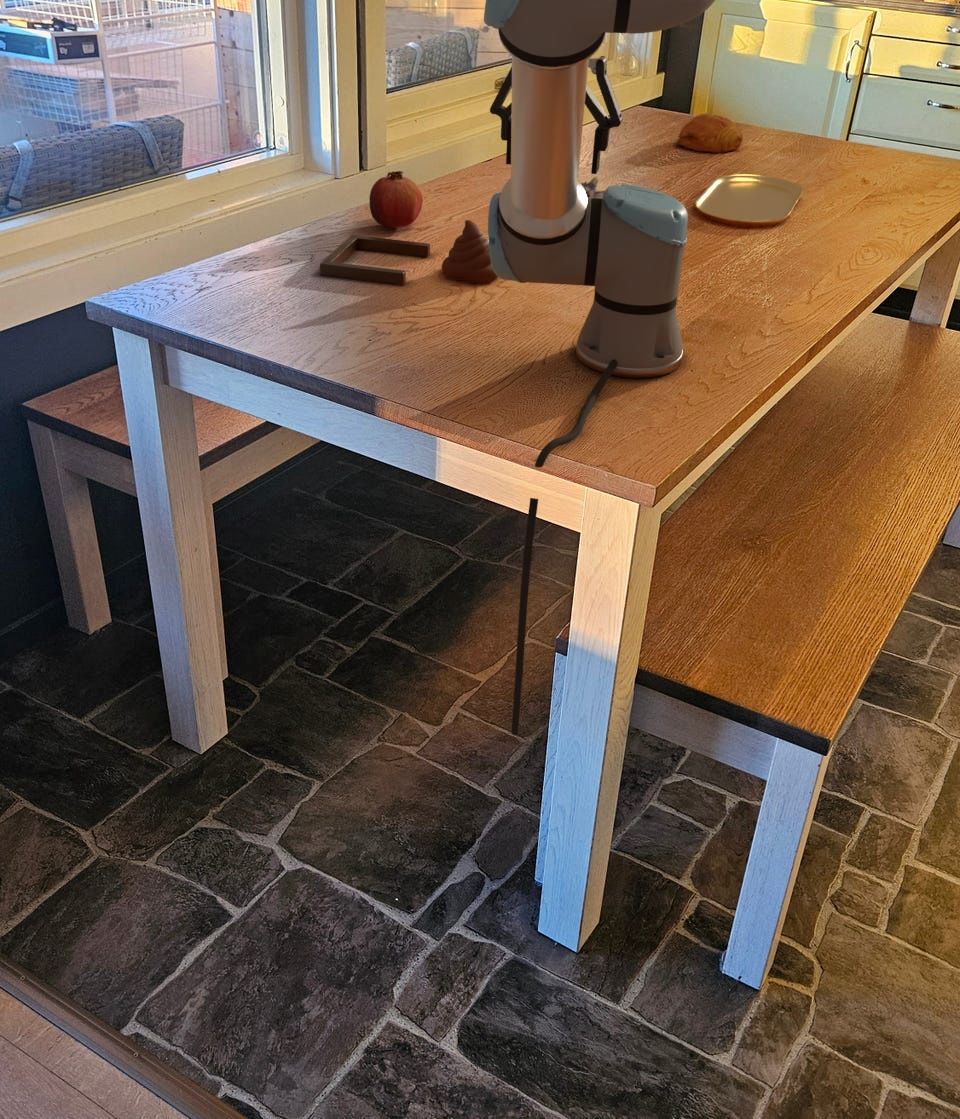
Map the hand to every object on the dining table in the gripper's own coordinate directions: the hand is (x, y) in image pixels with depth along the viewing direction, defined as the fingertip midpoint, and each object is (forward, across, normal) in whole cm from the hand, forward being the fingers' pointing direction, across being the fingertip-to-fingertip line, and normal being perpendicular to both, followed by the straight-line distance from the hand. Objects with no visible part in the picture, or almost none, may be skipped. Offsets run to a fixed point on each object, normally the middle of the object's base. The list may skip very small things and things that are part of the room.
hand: (552, 166), depth 170 cm
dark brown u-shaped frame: (+19, +29, +1) cm, 35 cm away
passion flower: (+21, -2, -29) cm, 36 cm away
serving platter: (+22, -30, -60) cm, 71 cm away
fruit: (+21, +33, -20) cm, 43 cm away
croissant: (+24, -18, -105) cm, 110 cm away
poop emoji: (+20, +12, +1) cm, 23 cm away
